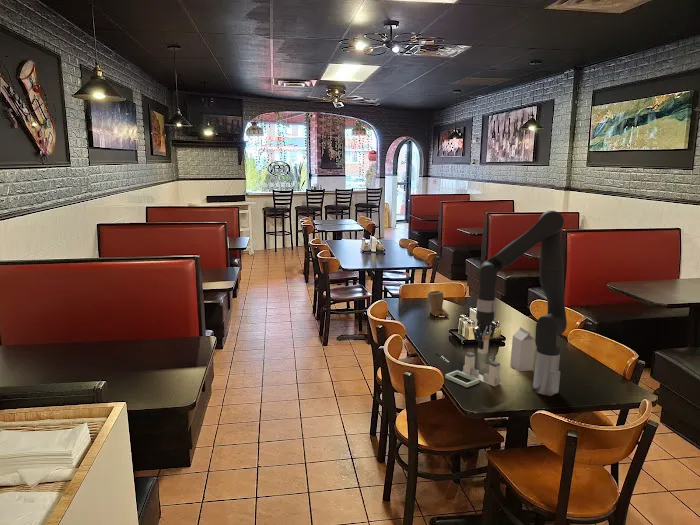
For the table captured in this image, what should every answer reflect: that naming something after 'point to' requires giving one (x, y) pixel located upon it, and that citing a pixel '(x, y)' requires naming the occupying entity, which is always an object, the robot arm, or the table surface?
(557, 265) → the robot arm
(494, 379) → the block
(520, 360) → the milk carton
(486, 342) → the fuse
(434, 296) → the brown boot
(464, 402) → the table surface
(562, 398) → the table surface
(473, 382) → the tray
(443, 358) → the butter knife
